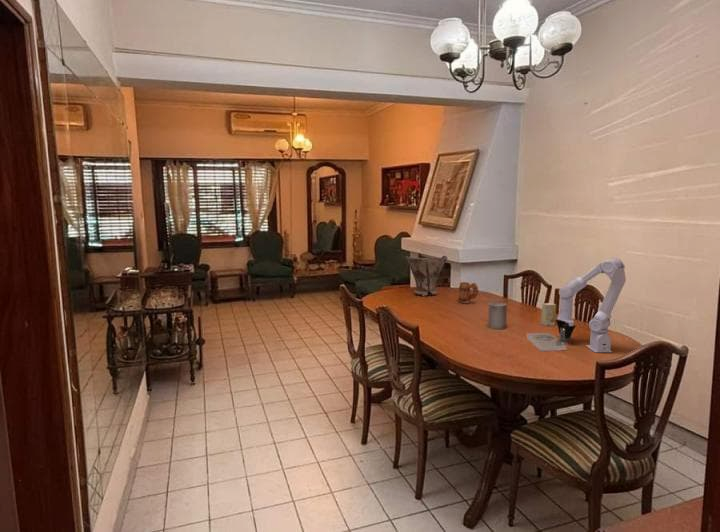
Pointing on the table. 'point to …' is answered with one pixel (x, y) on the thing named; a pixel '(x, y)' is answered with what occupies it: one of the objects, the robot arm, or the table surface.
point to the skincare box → (548, 314)
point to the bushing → (563, 335)
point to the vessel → (426, 273)
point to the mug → (467, 292)
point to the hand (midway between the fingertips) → (564, 335)
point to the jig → (546, 342)
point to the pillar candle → (497, 315)
